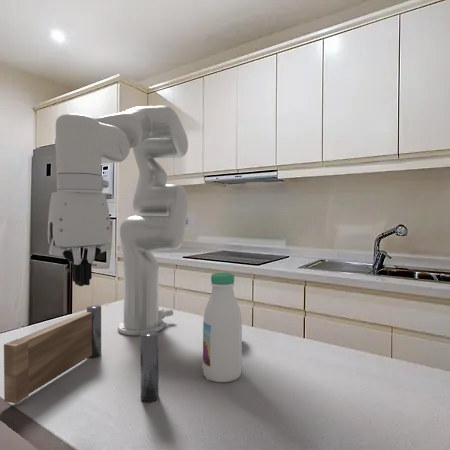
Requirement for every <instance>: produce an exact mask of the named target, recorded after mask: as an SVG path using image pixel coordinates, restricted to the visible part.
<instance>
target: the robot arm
mask: <svg viewBox="0 0 450 450" xmlns="http://www.w3.org/2000/svg"><path fill="white" fill-rule="evenodd" d="M54 147H55V158H56V159H55V162H56V165H55V166H56V191H55V192H54V191H53V192H51V195H50V202H49V208H48V218H47V219H48V221H47V242H48V244H49V249H48V254H49V255H51V256H55V257H64V259H66V260H67V261H68V262H69V263H70V264H71V279H72V282H74V284H75V285H76V286H79V287H83V286H90V284H91V282H90V281H91V280H92V278H93V277H92V274H93V273H92V265H93V263H94V262H95V259H96V258H97V257H99V254H102V253H104V252H108V251H110V250H111V249H112V248H111V244H110V242H111V238H112V236H111V235H112V231H111V229H112V227H111V218H110V209H109V204H108V200H107V196H106V193H103V191H104V189H105V188H109V186H110V184H109V183H110V182H109V181H108V180H104V176H103V175H102V171H103V170H102V167H103V166H102V164H105V165H106V164H107V165H109V164H118V163H121V162H124V160H126V159H127V157H128V156H129V154H130V149H132V150H133V155H134V158H135V161H136V165H137V169H138V171H139V172H138V179H137V184H136V186H135V192H134V194H133V199H132V202H133V203H132V208H133V210H134V212H135V213H136V214H138V215H132V216H128V217H126V218H125V219H123V221H122V222H121V223H120V226H119V227H120V228H119V236H120V237H119V238H120V242H121V247H122V257H123V259H122V260H123V321H121V322H120V323H119V324H118V325H117V331H118V332H119V333H121V334H123V335H126V336H141V334H142V333H144V332H149V331H153V332H157V333H159V332H160V331H161V330H163V329H164V328H165V322H164V319H165V318H166V317H167V318H168V317H171V316H173V315H174V310H173V309H171V308H170V309H166V310H165V309H164V308H163V309H160V304H159V303H160V300H159V298H160V297H159V296H160V295H159V293H160V291H159V290H160V287H159V285H160V283H159V281H160V280H159V279H160V277H159V275H160V274H159V273H160V268H159V267H160V266H159V262H158V260H157V258H156V257H155V256H154V253H152V251H175V250H178V249H179V248H181V246H183V245H182V244H183V241H184V237H185V231H186V223H187V215H188V206H189V198H188V192H187V190H186V189H185V187H183V185H180V184H175V183H174V184H173V183H171V184H170V183H169V184H167V182H168V174H167V172H166V170H165V168H163V166H162V165H161V164H160V163H159V162H157V161H156V159H175V158H177V159H178V158H183V157H184V156H185V155H186V154H187V152H188V150H189V141H188V136H187V133H186V130H185V129H184V126H183V124H182V122H181V119H180V117H179V116H178V114H177V112H176V111H175V110H174V109H173V108H172V107H171V106H168V105H155V106H153V105H147V106H143V105H142V106H135V107H132V108H129V109H126V110H125V111H122V112H118V113H113V114H108V115H104V116H100V117H95V118H94V117H92V116H90V115H86V114H85V115H84V114H79V113H66V114H61V115H60V116H58V117H57V118H56V121H55V139H54ZM80 248H82V255H81V253H80Z"/></svg>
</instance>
